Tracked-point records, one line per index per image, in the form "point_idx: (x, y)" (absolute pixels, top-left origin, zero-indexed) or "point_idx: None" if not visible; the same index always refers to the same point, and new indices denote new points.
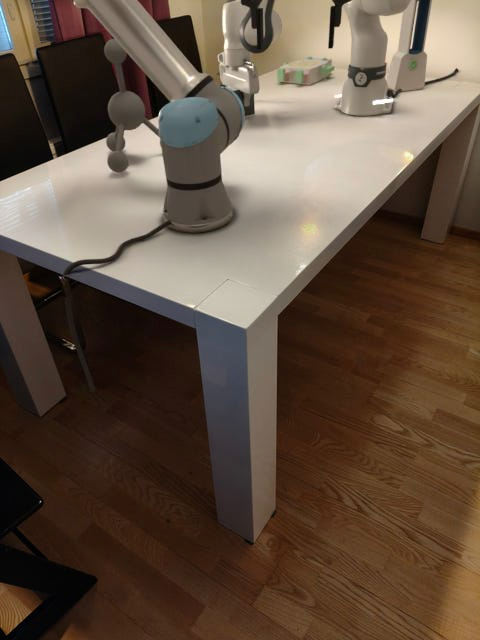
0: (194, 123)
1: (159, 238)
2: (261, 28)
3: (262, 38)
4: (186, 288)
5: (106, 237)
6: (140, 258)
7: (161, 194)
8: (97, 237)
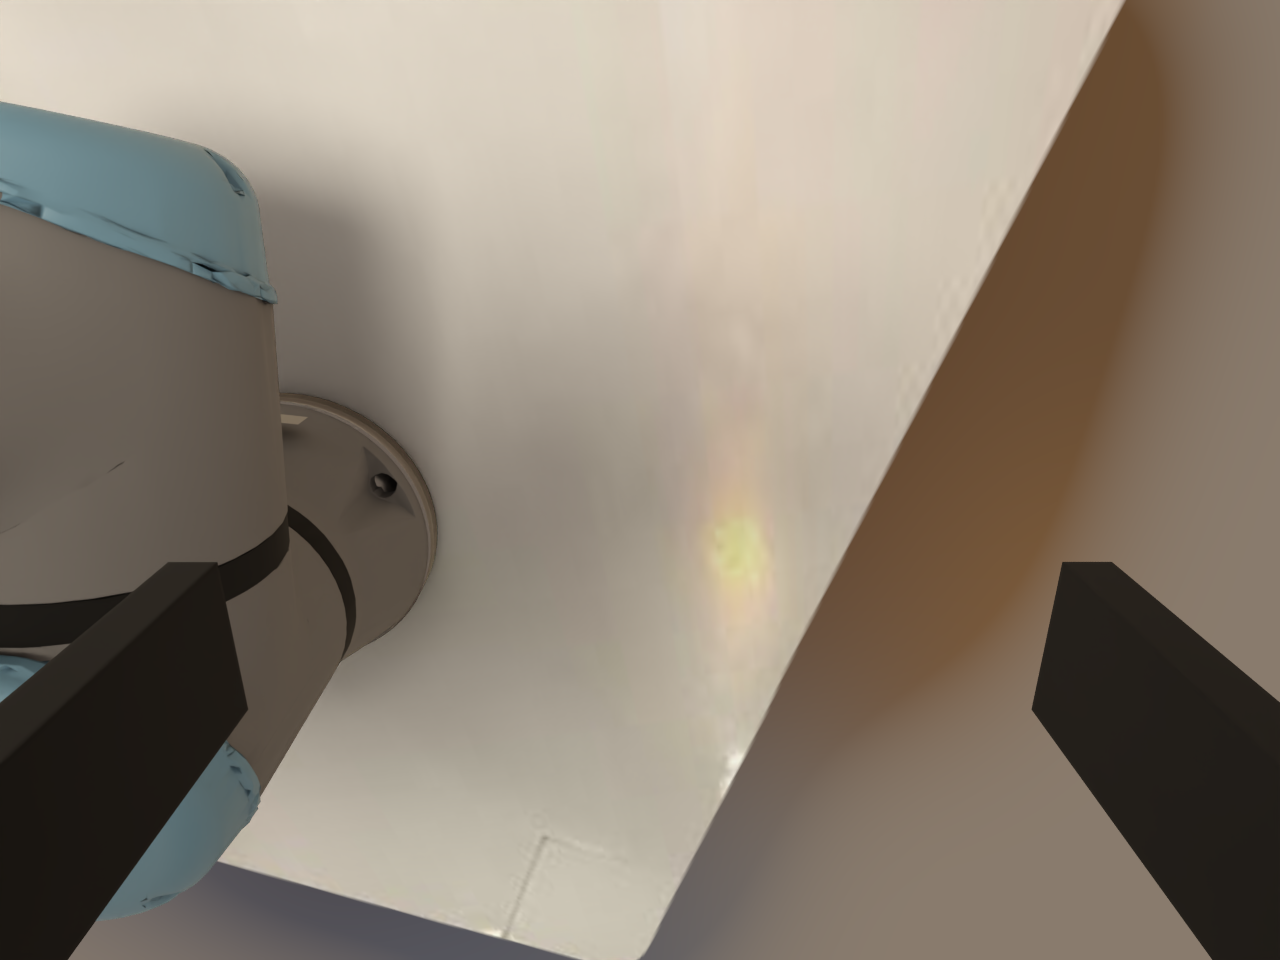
0: (166, 902)
1: None
2: (109, 822)
3: (174, 680)
4: (452, 882)
5: None
6: None
7: None
8: None
